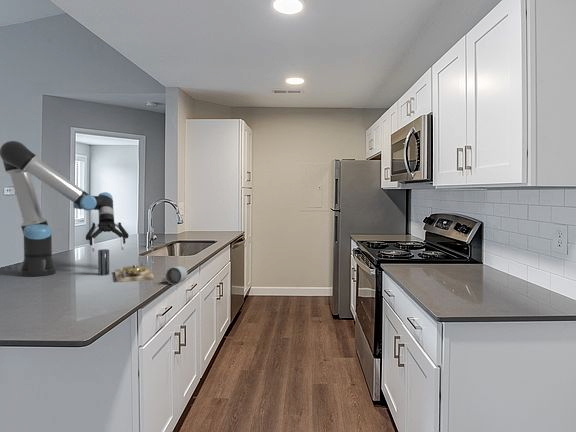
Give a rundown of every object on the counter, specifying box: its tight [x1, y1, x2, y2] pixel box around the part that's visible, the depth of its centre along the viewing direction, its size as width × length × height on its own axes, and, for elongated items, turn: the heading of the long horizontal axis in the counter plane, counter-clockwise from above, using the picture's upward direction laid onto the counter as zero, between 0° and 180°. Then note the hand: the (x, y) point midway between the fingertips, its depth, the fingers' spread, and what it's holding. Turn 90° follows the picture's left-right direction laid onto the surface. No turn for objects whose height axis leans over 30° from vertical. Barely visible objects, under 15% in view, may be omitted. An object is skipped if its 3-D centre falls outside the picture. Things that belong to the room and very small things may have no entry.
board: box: [114, 262, 155, 283], centre depth 205 cm, size 16×25×4 cm, turn 24°
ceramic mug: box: [161, 265, 189, 286], centre depth 191 cm, size 11×8×8 cm
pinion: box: [97, 248, 110, 276], centre depth 208 cm, size 5×5×12 cm
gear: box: [122, 264, 147, 276], centre depth 199 cm, size 10×10×5 cm
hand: (108, 249), depth 215 cm, fingers open, 13 cm apart
